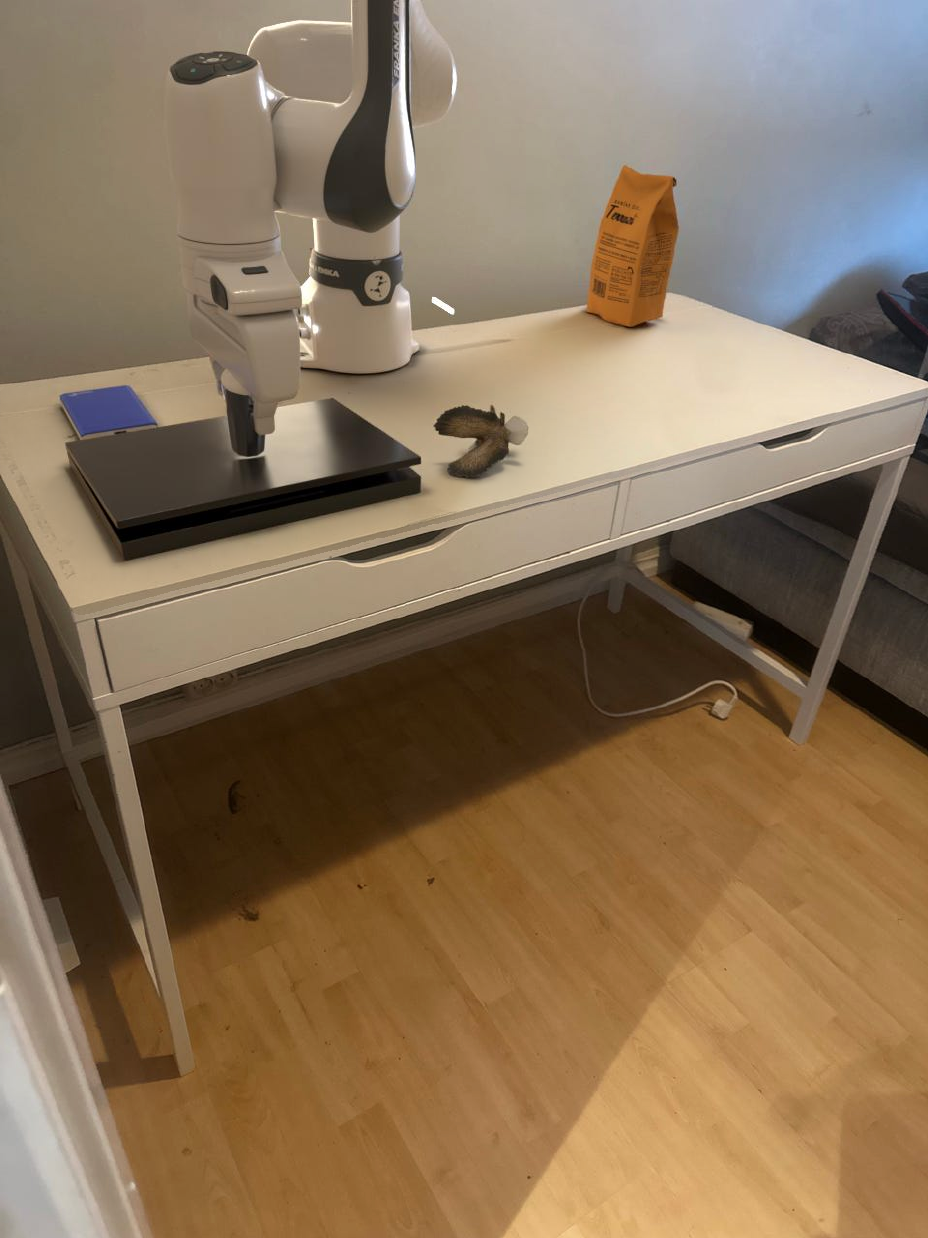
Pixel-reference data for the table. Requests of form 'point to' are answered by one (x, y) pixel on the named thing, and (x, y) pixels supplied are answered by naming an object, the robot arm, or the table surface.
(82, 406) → the hard drive
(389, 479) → the laptop
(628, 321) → the coffee package
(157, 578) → the table surface
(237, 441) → the milkshake
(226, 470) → the laptop screen
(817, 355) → the table surface
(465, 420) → the eagle figurine
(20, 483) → the table surface
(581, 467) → the table surface
